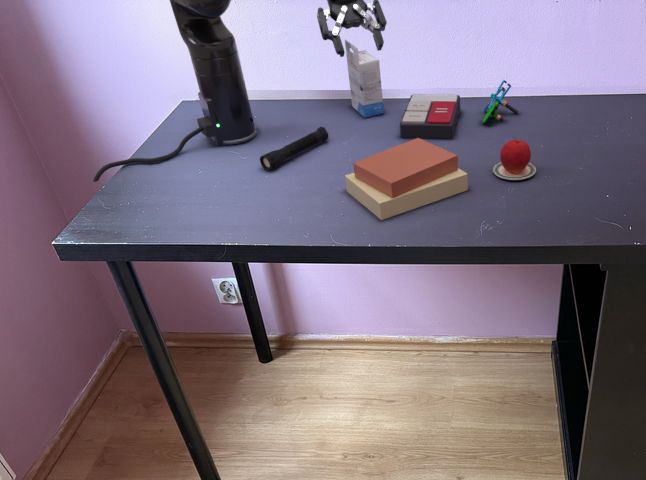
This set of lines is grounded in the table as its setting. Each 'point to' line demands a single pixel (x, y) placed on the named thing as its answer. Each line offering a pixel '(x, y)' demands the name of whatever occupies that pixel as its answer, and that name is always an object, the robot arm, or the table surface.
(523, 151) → the apple
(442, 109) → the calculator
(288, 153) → the flashlight
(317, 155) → the table surface
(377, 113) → the ink box
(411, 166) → the book stack
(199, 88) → the robot arm
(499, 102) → the stick construction toy
